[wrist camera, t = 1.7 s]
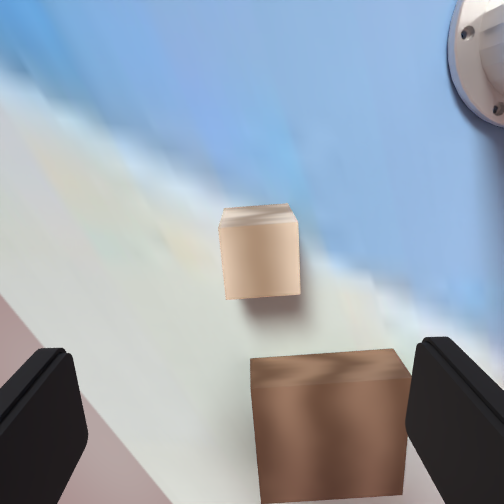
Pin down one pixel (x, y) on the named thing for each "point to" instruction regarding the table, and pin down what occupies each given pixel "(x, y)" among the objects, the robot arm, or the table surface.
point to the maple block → (259, 251)
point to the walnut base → (330, 425)
